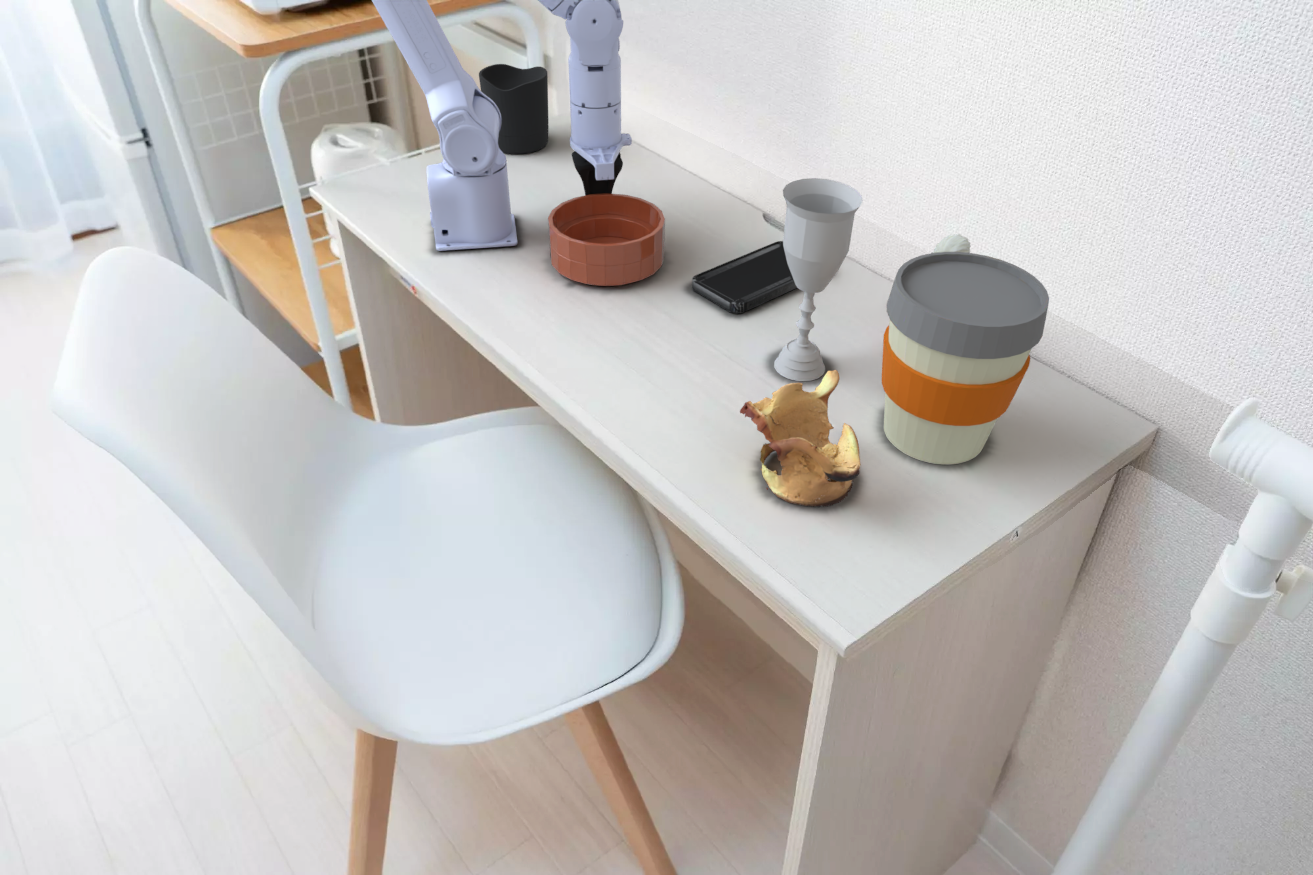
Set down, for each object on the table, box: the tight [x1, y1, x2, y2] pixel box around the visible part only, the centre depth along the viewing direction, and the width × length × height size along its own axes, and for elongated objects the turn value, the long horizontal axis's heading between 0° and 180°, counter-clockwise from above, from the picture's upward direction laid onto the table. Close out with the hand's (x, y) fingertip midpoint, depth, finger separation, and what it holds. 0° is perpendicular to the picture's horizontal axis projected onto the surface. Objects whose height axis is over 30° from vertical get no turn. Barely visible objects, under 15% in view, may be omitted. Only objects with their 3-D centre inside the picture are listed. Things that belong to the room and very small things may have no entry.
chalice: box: [773, 177, 864, 382], centre depth 87 cm, size 7×7×18 cm
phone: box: [691, 240, 798, 314], centre depth 105 cm, size 8×1×15 cm
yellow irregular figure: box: [739, 369, 861, 508], centre depth 77 cm, size 12×10×8 cm
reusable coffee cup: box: [881, 252, 1050, 465], centre depth 80 cm, size 13×13×15 cm
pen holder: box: [478, 63, 549, 155], centre depth 133 cm, size 9×9×10 cm
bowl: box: [547, 193, 666, 287], centre depth 107 cm, size 13×13×6 cm
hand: (598, 212), depth 113 cm, fingers closed
